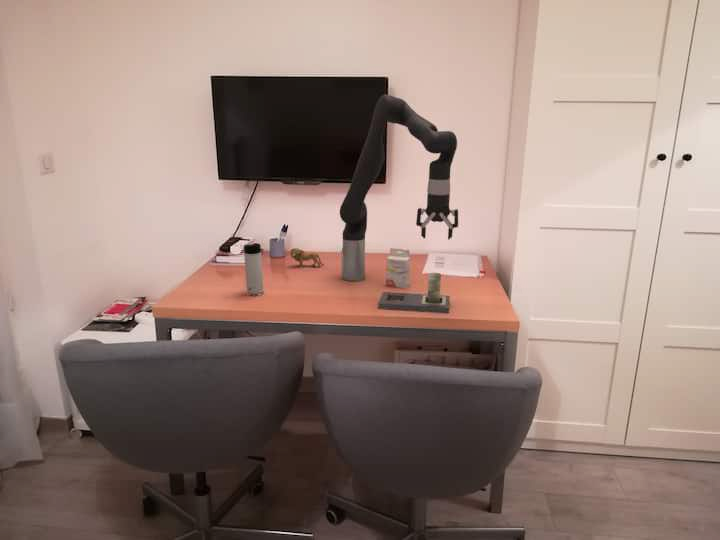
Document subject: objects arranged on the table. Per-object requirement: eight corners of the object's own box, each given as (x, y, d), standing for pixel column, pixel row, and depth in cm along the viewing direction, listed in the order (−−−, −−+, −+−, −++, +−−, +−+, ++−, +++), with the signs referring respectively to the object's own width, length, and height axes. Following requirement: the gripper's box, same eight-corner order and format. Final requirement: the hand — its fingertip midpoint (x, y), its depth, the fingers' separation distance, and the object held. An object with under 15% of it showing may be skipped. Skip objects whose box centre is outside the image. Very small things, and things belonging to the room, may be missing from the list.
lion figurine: (291, 269, 235) (290, 249, 232) (290, 265, 240) (289, 246, 237) (324, 267, 237) (323, 248, 234) (323, 264, 242) (322, 245, 239)
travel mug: (250, 297, 201) (246, 246, 195) (245, 292, 207) (241, 242, 201) (266, 294, 204) (262, 244, 198) (260, 289, 210) (257, 240, 204)
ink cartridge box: (385, 286, 213) (386, 250, 209) (389, 282, 218) (389, 247, 213) (406, 288, 211) (407, 252, 206) (409, 284, 215) (410, 249, 211)
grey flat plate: (378, 308, 191) (378, 302, 190) (382, 296, 202) (382, 291, 201) (448, 313, 186) (448, 307, 185) (449, 300, 197) (449, 295, 197)
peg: (426, 307, 191) (428, 276, 187) (427, 303, 195) (428, 272, 192) (439, 308, 190) (440, 276, 187) (439, 304, 194) (441, 272, 191)
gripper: (460, 190, 182) (457, 236, 187) (418, 189, 185) (416, 234, 190) (460, 194, 175) (457, 242, 180) (416, 193, 178) (415, 240, 183)
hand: (436, 238), depth 185 cm, fingers open, 8 cm apart
